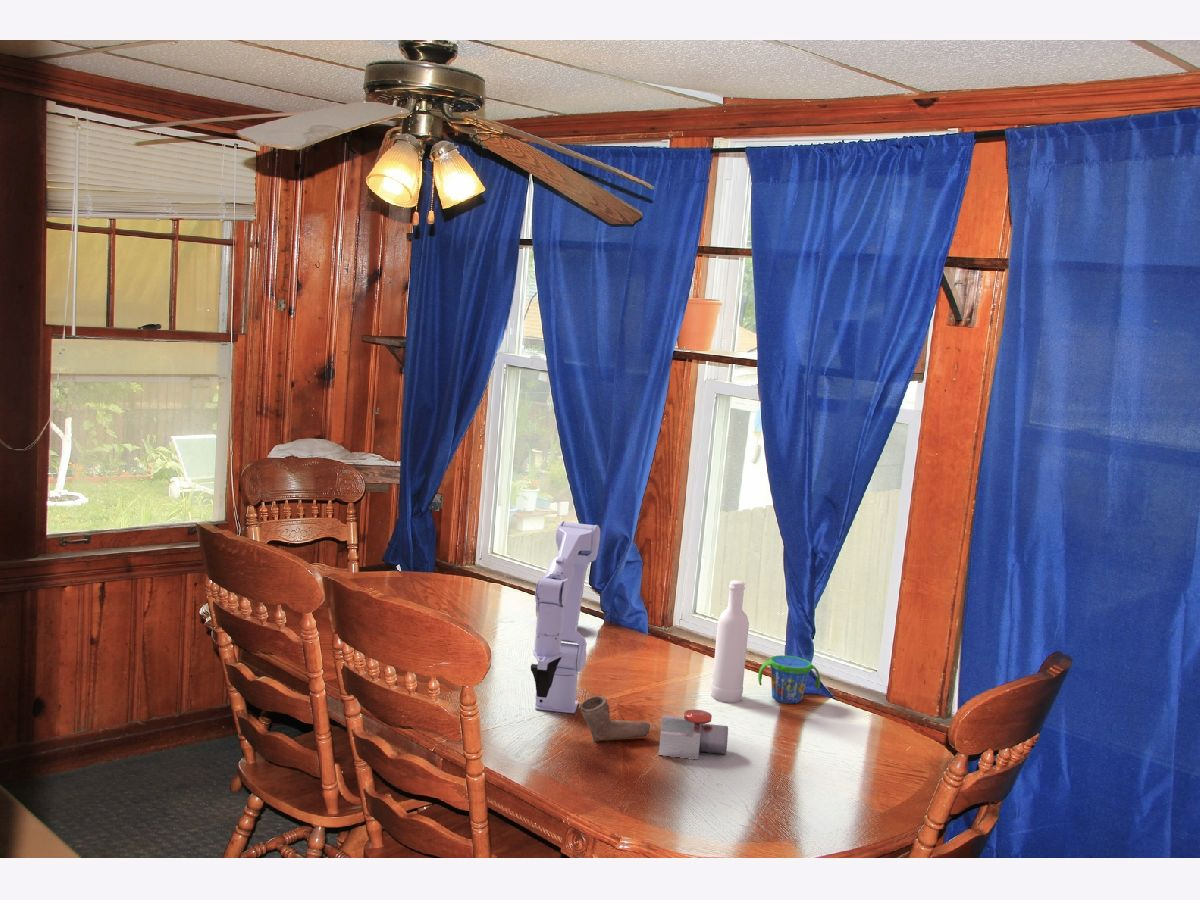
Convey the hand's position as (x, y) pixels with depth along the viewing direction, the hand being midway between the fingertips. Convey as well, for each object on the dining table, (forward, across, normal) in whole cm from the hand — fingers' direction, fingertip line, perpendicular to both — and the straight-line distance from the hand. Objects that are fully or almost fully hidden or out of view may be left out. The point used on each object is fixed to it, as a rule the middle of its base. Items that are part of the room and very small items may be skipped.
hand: (544, 691), depth 251 cm
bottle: (+10, +38, -42) cm, 57 cm away
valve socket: (+9, 0, -34) cm, 35 cm away
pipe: (+10, 0, -16) cm, 19 cm away
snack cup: (+10, +42, -58) cm, 72 cm away
